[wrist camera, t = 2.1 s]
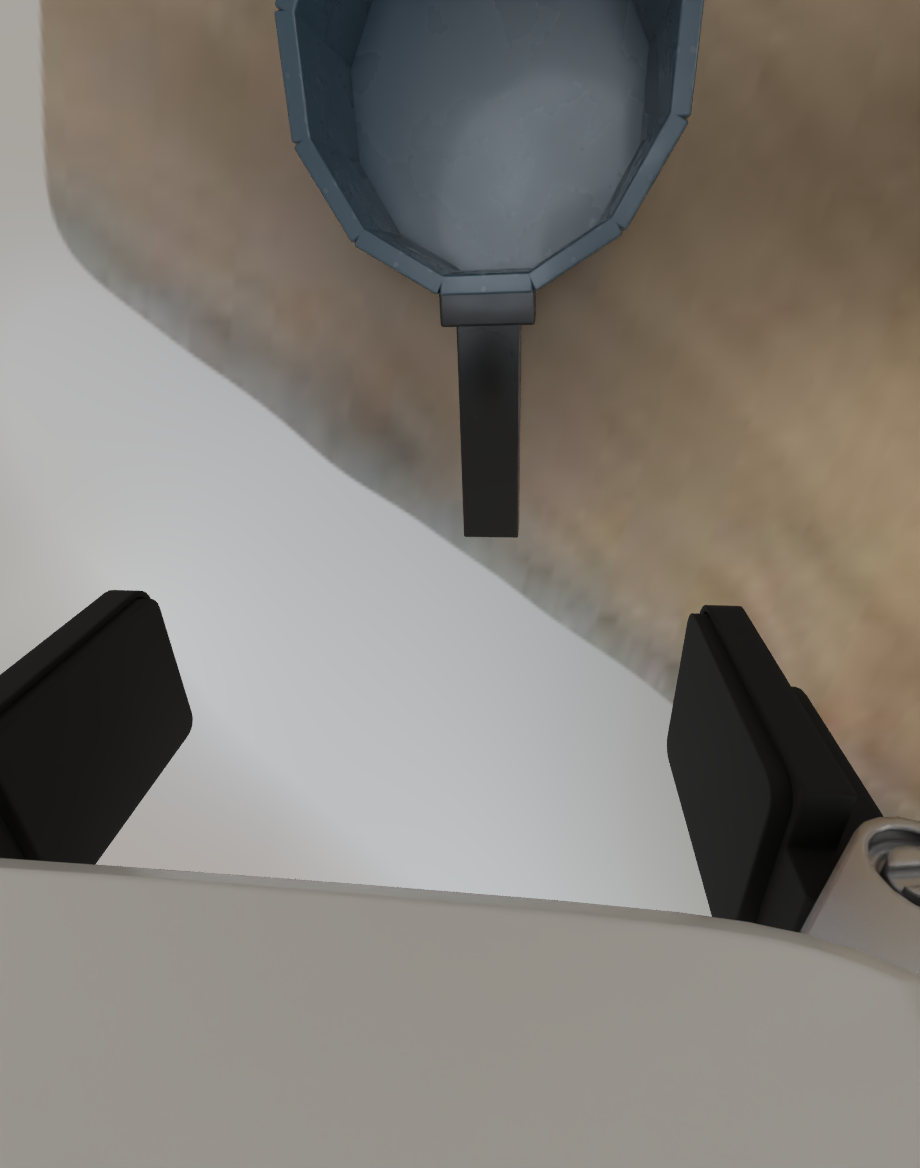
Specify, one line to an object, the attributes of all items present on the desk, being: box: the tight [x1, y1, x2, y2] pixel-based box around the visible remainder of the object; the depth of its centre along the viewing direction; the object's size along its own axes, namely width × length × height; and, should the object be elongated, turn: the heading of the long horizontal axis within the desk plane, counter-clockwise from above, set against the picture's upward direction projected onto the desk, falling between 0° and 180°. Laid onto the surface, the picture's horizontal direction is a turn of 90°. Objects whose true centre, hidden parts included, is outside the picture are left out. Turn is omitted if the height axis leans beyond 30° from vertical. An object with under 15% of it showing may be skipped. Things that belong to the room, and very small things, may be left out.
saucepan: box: [275, 0, 704, 537], centre depth 22 cm, size 12×21×6 cm, turn 2°
